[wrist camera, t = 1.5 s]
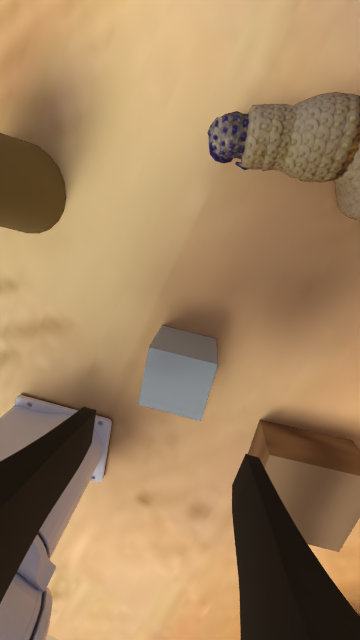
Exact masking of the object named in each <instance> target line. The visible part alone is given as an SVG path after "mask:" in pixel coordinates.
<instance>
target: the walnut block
mask: <svg viewBox="0 0 360 640" xmlns="http://www.w3.org/2000/svg"><path fill="white" fill-rule="evenodd" d="M248 455H252V456H255V457H259V459H260V460H261V462H262V464H263V466H264V468H265V470H266V472H267V474H268V476H269V478H270V480H271V482H272V484H273V485H274V487H275V489H276V491H277V493H278V495H279V497H280V499H281V500H282V502H283V504H284V506H285V507H286V509H287V511H288V513H289V515H290V516H291V518H292V520H293V521H294V523H295V525H296V527H297V528H298V530H299V531H300V533H301V535H302V536H303V538H304V540H305V541H306V543H307V544H309V545H313V546H317V547H321V548H325V549H329V550H333V551H337V552H339V551H340V549H341V547H342V546H343V544H344V542H345V541H346V539H347V538H348V536H349V534H350V533H351V531H352V529H353V528H354V526H355V524H356V523H357V521H358V519H359V518H360V451H359V449H358V448H357V446H356V445H355V444H354V442H353V441H351V440H347V439H342V438H338V437H333V436H329V435H324V434H320V433H316V432H311V431H307V430H302V429H298V428H294V427H289V426H285V425H280V424H276V423H272V422H267V421H263V420H259V423H258V426H257V429H256V432H255V435H254V438H253V441H252V443H251V446H250V449H249V452H248Z"/></svg>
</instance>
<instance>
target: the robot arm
mask: <svg viewBox="0 0 360 640" xmlns="http://www.w3.org/2000/svg"><path fill="white" fill-rule="evenodd" d="M100 421H101V422H102V423H101V422H100ZM111 426H112V422H111V420H110V419H108V418H105V417H101V416H97V415H96V410H93V409H90V408H86V407H83V408H81V409H80V410H75V409H71V408H68V407H64V406H60V405H56V404H53V403H49V402H45V401H41V400H38V399H34V398H30V397H26V396H23V395H20V396H18V397H17V398H16V399H15V406H14V407H13V408H12V409H10V410H9V411H8V412H7V413H6V414H4V415H3V416H2V417H1V418H0V640H46V636H47V633H48V628H49V623H50V616H51V610H52V594H51V591H50V590H49V589H48V588H47V585H48V583H49V581H50V579H51V577H52V575H53V573H54V571H55V569H56V566H55V565H54V564H53V563H52V562H51V561H50V558H51V556H52V554H53V552H54V550H55V548H56V546H57V544H58V542H59V540H60V538H61V536H62V534H63V532H64V530H65V528H66V526H67V524H68V522H69V520H70V518H71V516H72V514H73V512H74V510H75V508H76V506H77V504H78V502H79V500H80V498H81V496H82V495H83V493H84V491H85V489H86V487H87V485H88V483H89V481H90V480H92V481H95V482H101V481H102V479H103V477H104V471H105V465H106V458H107V452H108V445H109V439H110V433H111ZM232 514H233V525H234V536H235V546H236V556H237V566H238V576H239V590H240V624H241V640H360V617H359V615H358V614H357V613H356V612H355V610H354V609H353V608H352V606H351V605H350V604H349V602H348V601H347V600H346V598H345V597H344V596H343V594H342V593H341V592H340V590H339V589H338V588H337V586H336V585H335V584H334V582H333V581H332V579H331V578H330V577H329V575H328V574H327V572H326V571H325V570H324V568H323V567H322V565H321V564H320V562H319V561H318V559H317V558H316V556H315V555H314V553H313V552H312V550H311V549H310V547H309V546H308V544H307V543H306V541H305V540H304V538H303V536H302V535H301V533H300V531H299V530H298V528H297V527H296V525H295V523H294V521H293V520H292V518H291V516H290V515H289V513H288V511H287V509H286V507H285V506H284V504H283V502H282V500H281V499H280V497H279V495H278V493H277V491H276V489H275V487H274V485H273V484H272V482H271V480H270V478H269V476H268V474H267V472H266V470H265V468H264V466H263V464H262V462H261V460H260V459H259V457H255V456H252V455H248V454H246V455H245V457H244V459H243V462H242V464H241V466H240V468H239V471H238V473H237V475H236V478H235V480H234V482H233V485H232Z"/></svg>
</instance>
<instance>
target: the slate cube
mask: <svg viewBox="0 0 360 640" xmlns="http://www.w3.org/2000/svg"><path fill="white" fill-rule="evenodd" d="M217 366H218V358H217V344H216V339H215V338H211V337H207V336H203V335H199V334H195V333H191V332H187V331H183V330H179V329H175V328H171V327H167V326H163V325H162V326H161V328H160V330H159V331H158V333H157V335H156V336H155V338H154V340H153V342H152V343H151V345H150V347H149V351H148V356H147V361H146V366H145V371H144V376H143V382H142V387H141V392H140V397H139V402H138V405H141V406H145V407H149V408H153V409H157V410H160V411H164V412H168V413H172V414H176V415H179V416H183V417H187V418H191V419H195V420H198V421H201V419H202V416H203V412H204V409H205V406H206V402H207V399H208V396H209V393H210V389H211V386H212V383H213V379H214V376H215V373H216V369H217Z"/></svg>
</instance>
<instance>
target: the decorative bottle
mask: <svg viewBox="0 0 360 640" xmlns="http://www.w3.org/2000/svg"><path fill="white" fill-rule="evenodd" d="M208 135H209V149H210V155H211V156H212V157H213V159H214V160H215V161H217V162H221V163H227V162H231V161H232V159H233V158H239V159H242V161H241V162H236V163H235V164H236V165H237V166H239V167H241V168H242V169H244V170H247V169H262V170H263V171H266V170H280V171H281V172H284V173H285V174H287V175H288V176H289V177H293V178H297V179H299V180H300V181H307V182H326V181H331V180H333V181H334V182H335V188H336V196H337V203H338V206H339V209H340V210H341V211H342V212H343V213H344V214H345V215H346V216H348V217H350V218H352V219H355V220H360V96H358V95H355V94H344V93H337V92H335V93H328V94H321V95H318V96H315V97H312V98H309V99H307V100H304V101H302V102H300V103H298V104H296V105H295V106H291V105H287V104H264V105H253V106H252V108H251V110H250V112H249V114H242V113H240V112H237V111H236V112H232V113H228V114H225V115H223V116H221V117H219V118H216V119H215V121H214V122H213V123H212V124H211V126H210V128H209V131H208Z"/></svg>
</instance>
